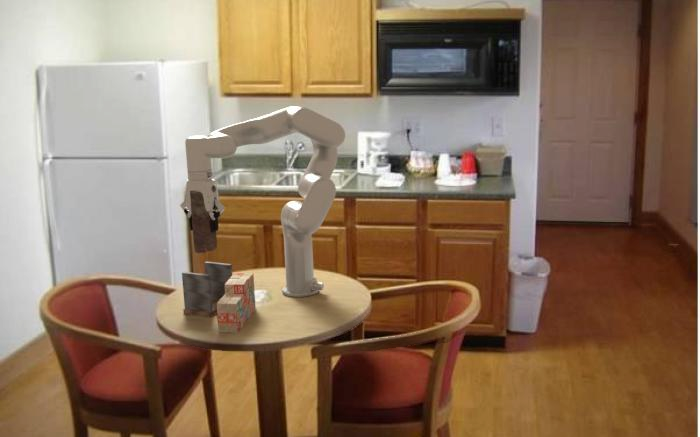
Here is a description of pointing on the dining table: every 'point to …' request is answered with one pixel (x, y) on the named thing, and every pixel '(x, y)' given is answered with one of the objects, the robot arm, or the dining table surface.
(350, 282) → the dining table surface
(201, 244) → the dark upright piece
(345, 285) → the dining table surface
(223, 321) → the stack of blocks
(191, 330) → the dining table surface
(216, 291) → the shelf
